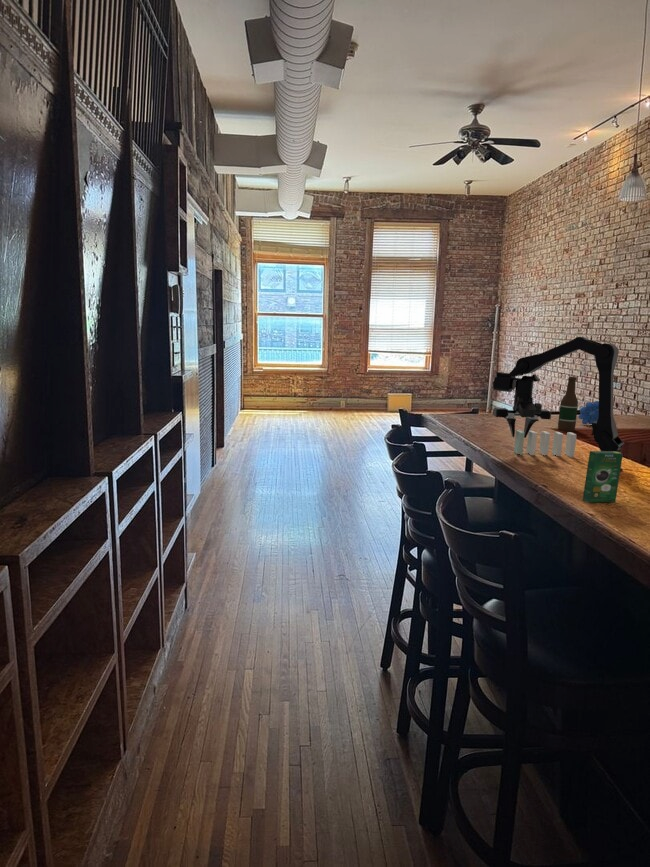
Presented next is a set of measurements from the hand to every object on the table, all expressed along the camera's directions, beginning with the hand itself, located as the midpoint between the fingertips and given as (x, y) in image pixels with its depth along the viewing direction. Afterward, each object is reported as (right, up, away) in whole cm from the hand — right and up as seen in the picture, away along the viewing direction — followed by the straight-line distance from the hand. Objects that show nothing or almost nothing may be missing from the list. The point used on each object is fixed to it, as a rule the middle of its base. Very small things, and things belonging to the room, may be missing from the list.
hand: (518, 437), depth 193 cm
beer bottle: (+41, +3, +55) cm, 69 cm away
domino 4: (+13, -6, 0) cm, 15 cm away
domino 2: (+4, -6, +1) cm, 7 cm away
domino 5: (+18, -7, 0) cm, 19 cm away
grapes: (+60, +5, +71) cm, 93 cm away
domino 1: (0, -6, +1) cm, 6 cm away
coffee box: (+2, -16, -53) cm, 56 cm away
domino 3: (+9, -6, +1) cm, 11 cm away
